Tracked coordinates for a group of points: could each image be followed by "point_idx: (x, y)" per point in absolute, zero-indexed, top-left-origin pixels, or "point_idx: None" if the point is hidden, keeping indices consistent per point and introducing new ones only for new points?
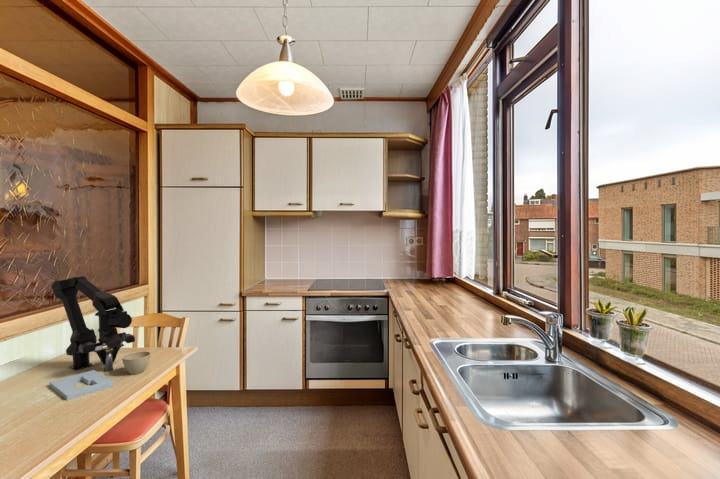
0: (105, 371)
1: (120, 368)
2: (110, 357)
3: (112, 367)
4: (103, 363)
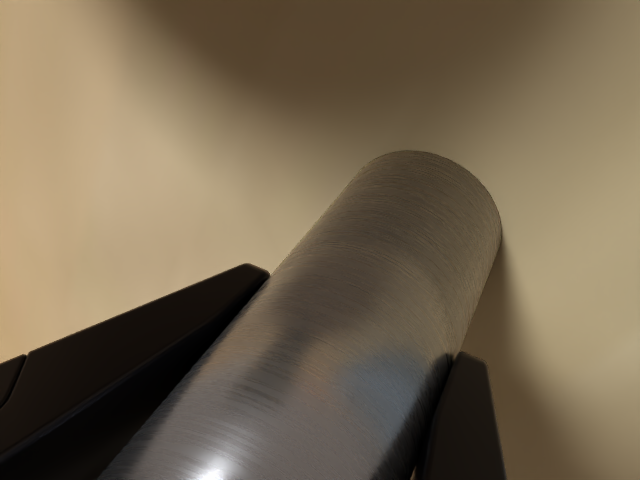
0: (498, 226)
1: (250, 87)
2: (249, 389)
3: (352, 189)
4: (488, 390)
